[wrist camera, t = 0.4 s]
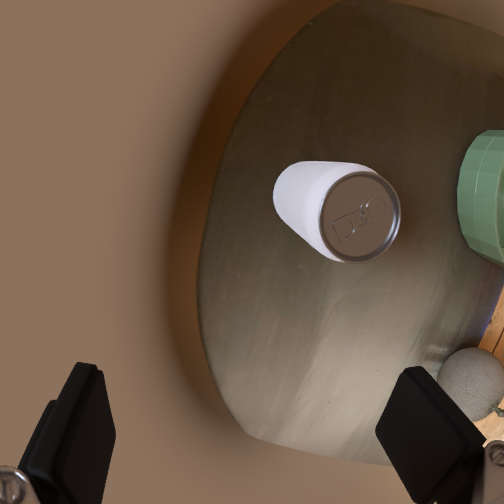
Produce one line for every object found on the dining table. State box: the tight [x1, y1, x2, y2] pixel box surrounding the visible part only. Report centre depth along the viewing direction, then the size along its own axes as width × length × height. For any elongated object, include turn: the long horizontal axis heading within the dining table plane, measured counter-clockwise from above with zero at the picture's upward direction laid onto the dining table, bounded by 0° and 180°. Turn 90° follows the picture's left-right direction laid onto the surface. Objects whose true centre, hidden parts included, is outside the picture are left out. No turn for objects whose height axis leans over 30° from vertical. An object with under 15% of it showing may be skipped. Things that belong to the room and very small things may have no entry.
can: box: [273, 161, 401, 264], centre depth 24 cm, size 6×6×12 cm
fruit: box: [437, 347, 504, 422], centre depth 32 cm, size 10×12×15 cm
